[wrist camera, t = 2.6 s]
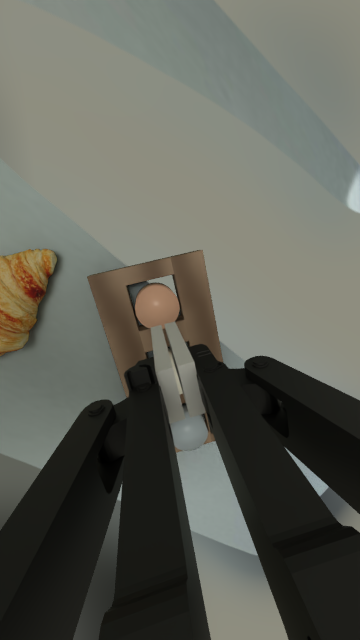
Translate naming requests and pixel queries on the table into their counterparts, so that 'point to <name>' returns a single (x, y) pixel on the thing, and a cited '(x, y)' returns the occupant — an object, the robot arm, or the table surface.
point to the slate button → (189, 432)
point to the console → (137, 340)
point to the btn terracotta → (156, 305)
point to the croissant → (22, 294)
